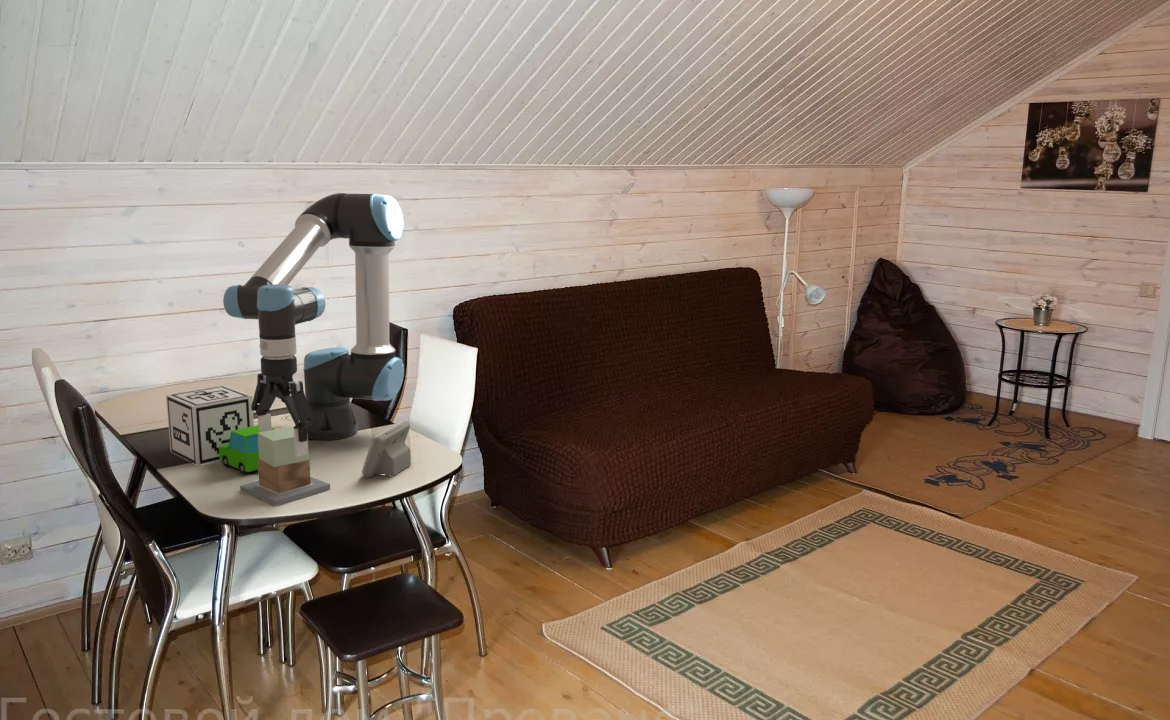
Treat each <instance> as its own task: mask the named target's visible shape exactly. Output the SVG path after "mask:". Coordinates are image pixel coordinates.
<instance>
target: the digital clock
mask: <svg viewBox="0 0 1170 720" xmlns="http://www.w3.org/2000/svg"><path fill="white" fill-rule="evenodd" d="M410 428H411V426H410V422H409V421H407V420H401V421H399V422H397V423H396V424H393V425H392V426H390V427H388V428H386V429H385V430H382V431H381V432H379V433H378V434H376V435H374V436H373V437H372V440H371V442H370V446H369V448H368V451H367V455H366V458H365V461H364V464H363V466H362V470H361V473H362V476H363V477H364V478H371V477H373V476H374V474H385V475H391V476H393V477H395V476H397V475H398V474H400V473H401V472H403V471H404V470H406V469H407V468H409V467H410V466H411V465H412V463H411V459H412V458H411V449H410V447H409V446H407V444H406V439H407V437H408V434H409V431H410ZM408 466H409V467H408ZM405 468H406V469H405ZM402 470H403V471H402ZM399 472H400V473H399ZM396 474H397V475H396ZM394 475H395V476H394ZM391 476H390V477H391Z"/></svg>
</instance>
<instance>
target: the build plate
mask: <svg viewBox="0 0 1170 720" xmlns="http://www.w3.org/2000/svg"><path fill="white" fill-rule="evenodd" d="M310 479H311V484H309V485H306V486H303V487H299V488H296V489H293V490H289V491H286V492H283V493H277V492H275V491H272V490H270V489H267V488H265V487H263V486H260V485H259V480H257V481H253V482H252V481H251V482H248V483H245V484H242V485H239V491H240V492H241V493H244V494H245V495H246V494H247V495H249V496H251V497H253V496H254V498H256V499H259V500H260V499H261V501H263V502H266V503H268V504H270V505H273V506H275V507H278V506H280V505H284V504H287V503H290V502H293V501H296V500H300V499H303V498H306V497H310V496H313V495H317V494H319V493H322V492H326V491H329V490H331V483H328V482H326V481H323V480H320V479H318V478H316V477H315V478H314V477H312V476H310Z"/></svg>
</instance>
